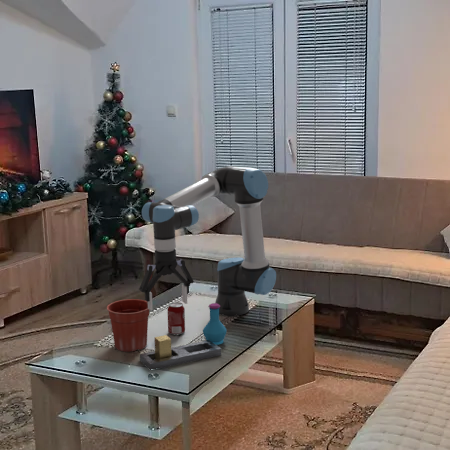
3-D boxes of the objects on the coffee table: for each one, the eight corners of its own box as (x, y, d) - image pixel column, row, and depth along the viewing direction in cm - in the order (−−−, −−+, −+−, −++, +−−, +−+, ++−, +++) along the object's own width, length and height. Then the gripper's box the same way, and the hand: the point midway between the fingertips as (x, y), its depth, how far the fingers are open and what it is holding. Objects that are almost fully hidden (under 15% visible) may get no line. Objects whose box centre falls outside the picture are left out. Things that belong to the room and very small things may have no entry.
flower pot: (119, 357, 258) (117, 316, 254) (102, 343, 271) (99, 304, 268) (159, 348, 266) (158, 307, 263) (140, 335, 280) (139, 296, 277)
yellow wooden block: (166, 358, 257) (166, 335, 255) (171, 362, 253) (171, 338, 251) (155, 360, 255) (154, 337, 253) (160, 365, 251) (159, 341, 249)
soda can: (182, 336, 278) (181, 307, 275) (166, 335, 279) (165, 306, 277) (186, 330, 284) (186, 302, 282) (170, 329, 286) (169, 301, 283)
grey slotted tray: (209, 346, 268) (209, 339, 267) (221, 355, 259) (221, 348, 258) (140, 360, 255) (139, 354, 254) (150, 370, 246) (150, 363, 246)
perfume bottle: (230, 338, 275) (229, 302, 272) (222, 347, 266) (221, 309, 263) (207, 336, 278) (207, 299, 275) (199, 344, 269) (198, 307, 266)
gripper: (192, 242, 258) (194, 297, 263) (128, 252, 247) (131, 309, 252) (201, 246, 252) (203, 302, 257) (136, 256, 241) (139, 315, 245)
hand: (167, 306), depth 254 cm, fingers open, 13 cm apart
